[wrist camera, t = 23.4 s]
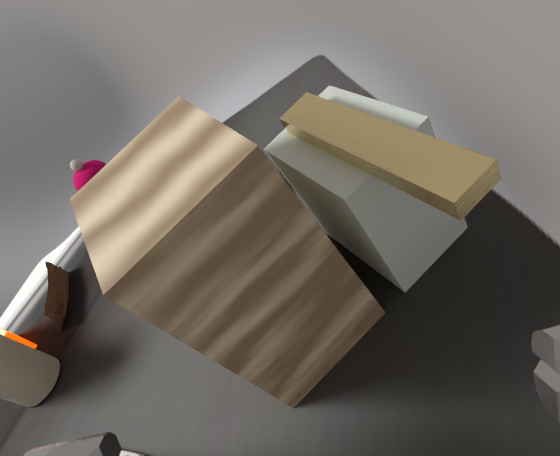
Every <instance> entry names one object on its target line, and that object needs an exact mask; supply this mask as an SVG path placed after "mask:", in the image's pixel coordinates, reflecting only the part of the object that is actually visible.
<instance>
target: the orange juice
mask: <svg viewBox="0 0 560 456" xmlns="http://www.w3.org/2000/svg"><path fill="white" fill-rule="evenodd" d="M0 334H1V335H3V336H6V337H8V338H10V339H13V340H15V341H17V342H20V343H22V344H25V345H27V346H29V347H32V348H34V349H35V348H36V347H37V345H36V344H34V343H32V342H30V341H28V340H26V339H24V338H22V337H20V336H18V335H16V334H13V333H11V332H9V331H6V330H4V329H2V328H0Z"/></svg>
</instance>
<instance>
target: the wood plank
mask: <svg viewBox="0 0 560 456" xmlns="http://www.w3.org/2000/svg"><path fill="white" fill-rule="evenodd" d="M46 267H47V270H48V294H47V299H46V303H45V316H48V317H50V318H52V319H53V320H54V321H55V322H56V324H57V325H59V327H58V332H60V333H61V327H62V324H63V321H64V318H65V316H66V311H67V305H68V299H69V291H68V288H69V277H68V272H66V271H65V270H63V269H61V267H57V266H55V265H53V264H52V263H49V262H46Z"/></svg>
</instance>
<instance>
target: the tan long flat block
mask: <svg viewBox="0 0 560 456" xmlns="http://www.w3.org/2000/svg"><path fill="white" fill-rule="evenodd" d="M279 120H280V121H281V123H282V124H283V126H284V127H285V128H286V130H287V131H288V133H290V134H292V135H294V136H296V137H298V138H299V139H301V140H303V141H305V142H307V143H309V144H311V145H313V146H315V147H317V148H319V149H321V150H323V151H325V152H327V153H329V154H331V155H333V156H335V157H337V158H339V159H341V160H343V161H345V162H346V163H348V164H350V165H352V166H354V167H356V168H358V169H360V170H362V171H364V172H366V173H368V174H370V175H372V176H374V177H376V178H378V179H380V180H382V181H384V182H386V183H388V184H390V185H391V186H393V187H395V188H397V189H399V190H401V191H403V192H405V193H407V194H409V195H411V196H413V197H415V198H417V199H419V200H421V201H423V202H425V203H427V204H429V205H431V206H433V207H435V208H436V209H438V210H440V211H442V212H444V213H446V214H448V215H450V216H452V217H454V218H456V219H458V220H460V221H461V220H462V219H463V218H464V217H465V216H466V215H467V214H468V213H469V212H470V211H471V210H472V209H473V208H474V207H475V206H476V205H477V204H478V203H479V202H480V200H481V199H482V198H483V197H484V196H485V195H486V194H487V193H488V192H489V191H490V190H491V189H492V188H493V187H494V186H495V185H496V184H497V183H498V182H499V181H500V180H501V177H500V173H499V169H498V165H497V160H496V159H494V158H491V157H488V156H486V155H483V154H480V153H477V152H474V151H471V150H469V149H466V148H463V147H460V146H457V145H454V144H451V143H449V142H446V141H443V140H440V139H437V138H435V137H432V136H429V135H426V134H423V133H420V132H418V131H415V130H412V129H409V128H406V127H403V126H401V125H398V124H395V123H392V122H389V121H386V120H384V119H381V118H378V117H375V116H372V115H370V114H367V113H364V112H361V111H358V110H355V109H353V108H350V107H347V106H344V105H341V104H338V103H336V102H333V101H330V100H327V99H324V98H321V97H319V96H316V95H313V94H310V93H307V92H306V93H305V94H304V95H303V96H302V97H301V98H300V99H299V100H298V101H297V102H296V103H295V104H294V105H293V106H292V107H291V108H290V109H289V110H288V111H287V112H286V113H285V114H284V115H283V116H282V117H281V118H280V119H279Z"/></svg>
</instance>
